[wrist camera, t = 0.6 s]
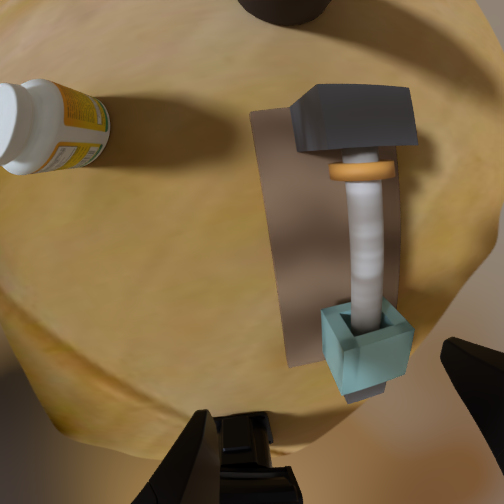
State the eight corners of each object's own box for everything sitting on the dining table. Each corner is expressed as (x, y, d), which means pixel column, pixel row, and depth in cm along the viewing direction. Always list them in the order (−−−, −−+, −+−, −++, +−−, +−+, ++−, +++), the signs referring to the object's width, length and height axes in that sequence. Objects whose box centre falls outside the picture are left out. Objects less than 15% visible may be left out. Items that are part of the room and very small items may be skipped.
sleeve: (377, 336, 20) (404, 374, 16) (322, 351, 20) (341, 395, 15) (381, 294, 19) (414, 329, 14) (320, 309, 19) (343, 351, 14)
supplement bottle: (99, 175, 17) (10, 195, 8) (47, 158, 16) (-43, 172, 7) (123, 103, 16) (43, 70, 7) (68, 92, 15) (-17, 69, 6)
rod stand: (387, 334, 23) (423, 381, 17) (286, 360, 23) (302, 421, 17) (382, 106, 17) (442, 92, 10) (249, 114, 17) (259, 88, 10)
